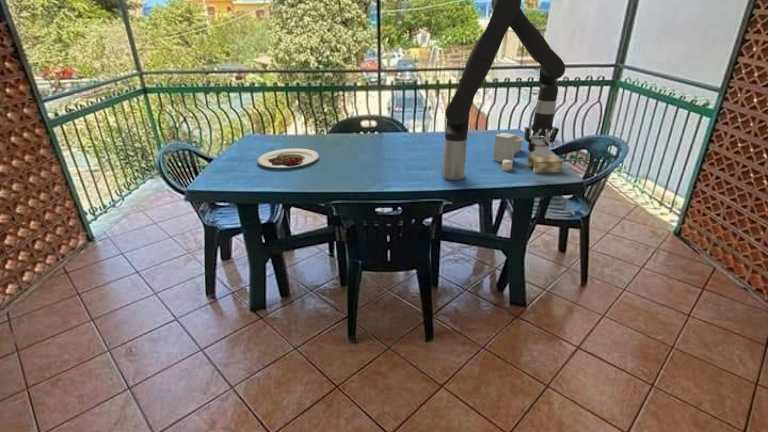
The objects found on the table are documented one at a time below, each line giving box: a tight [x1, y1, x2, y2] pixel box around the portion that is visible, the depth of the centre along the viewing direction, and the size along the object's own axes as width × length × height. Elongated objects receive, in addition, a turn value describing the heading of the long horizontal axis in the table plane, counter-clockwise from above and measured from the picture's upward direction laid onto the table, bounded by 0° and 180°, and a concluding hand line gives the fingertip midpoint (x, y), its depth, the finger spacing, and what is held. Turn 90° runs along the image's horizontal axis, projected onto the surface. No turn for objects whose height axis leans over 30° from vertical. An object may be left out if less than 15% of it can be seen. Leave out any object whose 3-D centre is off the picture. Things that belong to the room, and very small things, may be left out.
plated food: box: [256, 148, 319, 169], centre depth 205 cm, size 30×30×3 cm
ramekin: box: [514, 135, 524, 155], centre depth 212 cm, size 13×13×7 cm
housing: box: [527, 139, 550, 157], centre depth 173 cm, size 10×5×4 cm, turn 179°
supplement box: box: [492, 132, 517, 163], centre depth 197 cm, size 7×7×13 cm
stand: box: [526, 154, 564, 173], centre depth 188 cm, size 12×10×5 cm
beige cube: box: [501, 160, 514, 172], centre depth 188 cm, size 4×4×4 cm
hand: (537, 151), depth 174 cm, fingers closed on housing, 5 cm apart
